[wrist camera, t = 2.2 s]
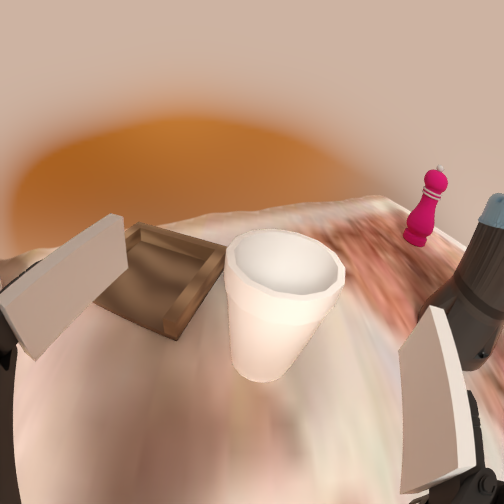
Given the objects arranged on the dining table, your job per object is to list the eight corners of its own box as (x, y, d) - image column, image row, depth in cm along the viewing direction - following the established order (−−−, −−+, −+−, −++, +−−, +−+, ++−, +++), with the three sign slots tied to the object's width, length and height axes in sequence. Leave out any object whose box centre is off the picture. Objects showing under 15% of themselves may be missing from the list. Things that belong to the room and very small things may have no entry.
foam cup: (208, 387, 24) (214, 287, 17) (222, 320, 32) (234, 222, 25) (304, 399, 25) (357, 308, 18) (301, 332, 32) (335, 239, 25)
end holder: (139, 237, 44) (138, 221, 43) (227, 264, 42) (229, 247, 40) (75, 292, 31) (69, 275, 30) (176, 341, 29) (175, 323, 27)
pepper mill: (409, 246, 57) (439, 166, 46) (396, 231, 63) (421, 156, 52) (430, 249, 58) (460, 174, 47) (416, 234, 64) (442, 164, 53)
